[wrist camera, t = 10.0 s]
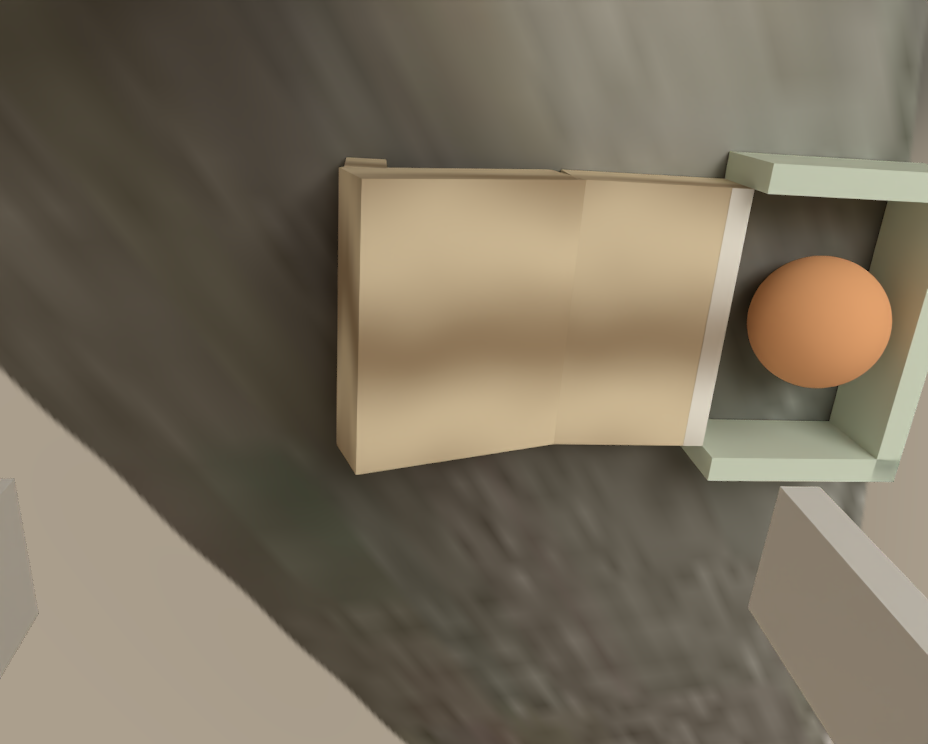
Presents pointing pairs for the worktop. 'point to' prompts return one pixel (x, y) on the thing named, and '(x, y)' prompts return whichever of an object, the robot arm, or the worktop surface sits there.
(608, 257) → the ramp lane
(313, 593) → the worktop surface
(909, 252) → the tray
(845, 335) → the ball
